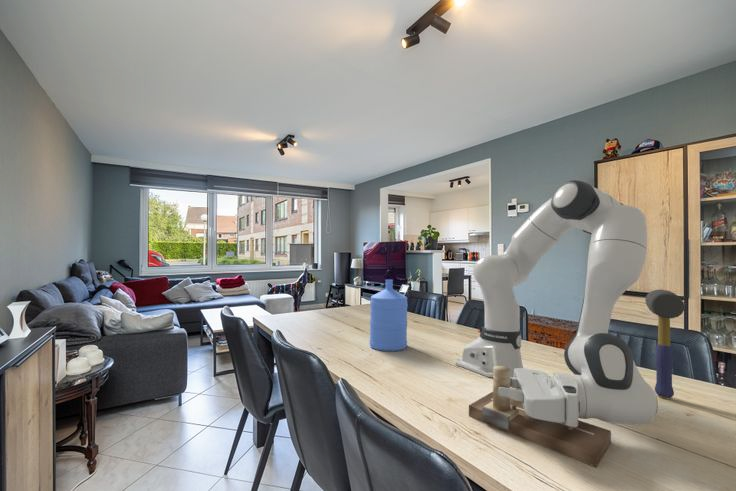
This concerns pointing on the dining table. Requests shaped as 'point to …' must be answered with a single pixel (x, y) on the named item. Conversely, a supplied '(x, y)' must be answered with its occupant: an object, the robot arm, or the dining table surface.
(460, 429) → the dining table surface
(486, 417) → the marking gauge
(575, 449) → the walnut board
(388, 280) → the water jug
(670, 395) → the rubber mallet
